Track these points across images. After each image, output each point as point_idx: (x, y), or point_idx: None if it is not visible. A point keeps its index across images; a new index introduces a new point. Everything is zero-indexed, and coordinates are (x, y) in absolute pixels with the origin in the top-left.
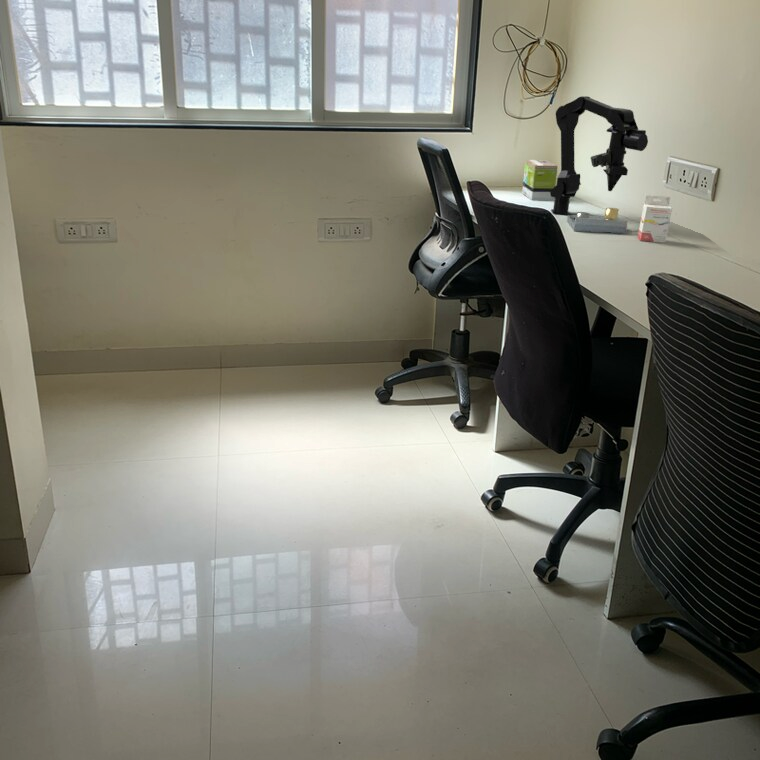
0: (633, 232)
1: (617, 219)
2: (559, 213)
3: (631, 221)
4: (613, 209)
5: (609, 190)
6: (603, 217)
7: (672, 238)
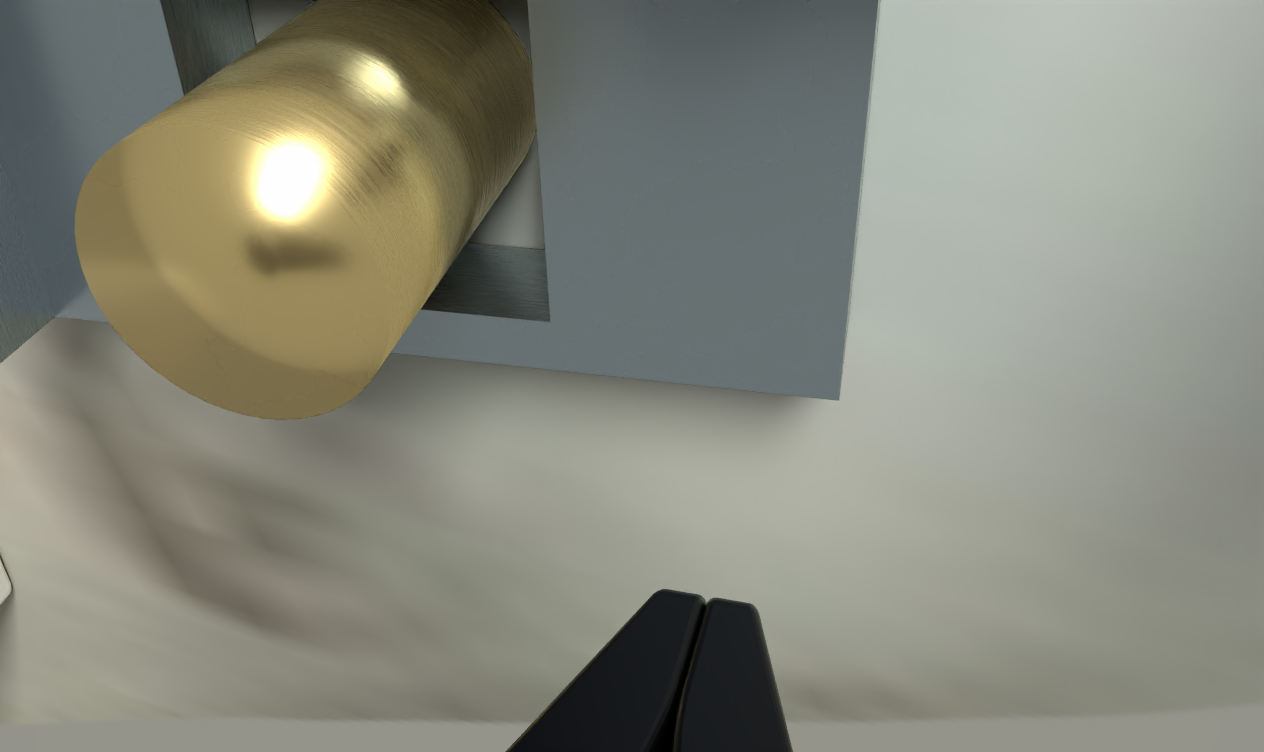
0: None
1: (610, 346)
2: None
3: (1138, 644)
4: (158, 287)
5: (641, 627)
6: (760, 100)
7: (137, 704)
